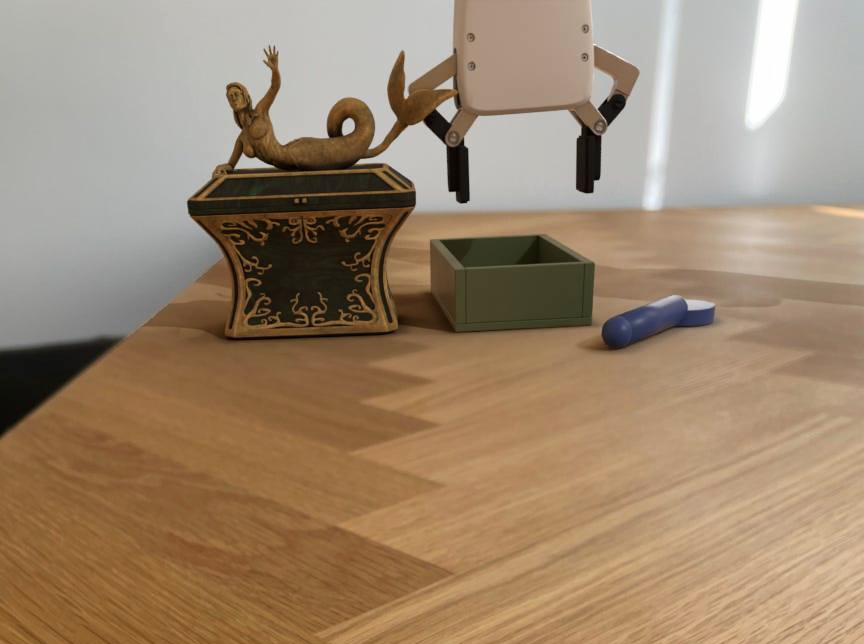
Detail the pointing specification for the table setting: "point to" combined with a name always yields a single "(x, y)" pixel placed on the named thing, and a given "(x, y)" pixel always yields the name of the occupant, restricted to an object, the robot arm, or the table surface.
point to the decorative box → (311, 217)
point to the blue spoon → (655, 320)
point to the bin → (511, 282)
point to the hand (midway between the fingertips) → (523, 197)
